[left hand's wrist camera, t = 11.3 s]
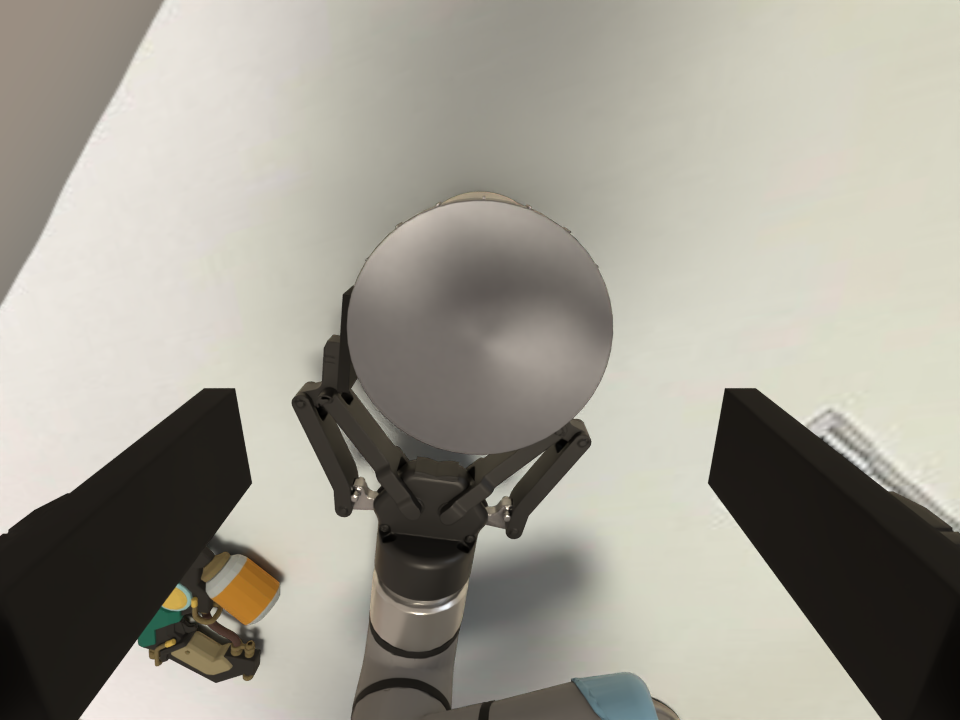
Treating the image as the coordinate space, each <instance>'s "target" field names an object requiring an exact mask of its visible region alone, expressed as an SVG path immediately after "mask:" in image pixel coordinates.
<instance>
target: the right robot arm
mask: <svg viewBox="0 0 960 720" xmlns="http://www.w3.org/2000/svg"><path fill="white" fill-rule="evenodd" d="M353 288H354V285H353V286H352V287H351V288H350V289H349V290H348V291H346V292H345V293H344V294H343V301H342V317H341V332H340V336H339V335H332V337H331V338H330V339H329V340H328V341H327V343H326V345H325V347H324V355H323V356H324V357H323V374H322V381H321V382H317V383H315V382H312V381H311V382H307V383H306V384H305V385H304V386H303V387H302V388H301V389H300V391H299V392H298V393H297V394H296V396H295V397H294V398H293V399H292V406H293V408H294V410H295V412H296V415H297V417H298V419H299V421H300V423H301V425H302V427H303V429H304V431H305V433H306V435H307V437H308V439H309V441H310V443H311V445H312V447H313V449H314V451H315V453H316V455H317V457H318V459H319V461H320V463H321V465H322V467H323V469H324V471H325V474H326V476H327V478H328V480H329V482H330V484H331V486H332V488H333V490H334V502H335V511H336V513H337V515H339V516H341V517H348V516H349V515H350V514H351V513H352V510H353V509H360V510H374V512H375V514H376V515H377V518H378V532H377V542H376V552H375V569H374V572H373V580H372V591H371V602H370V612H369V626H368V633H367V641H366V648H365V654H364V660H363V665H362V669H361V673H360V678H359V682H358V686H357V690H356V694H355V698H354V703H353V707H352V714H351V720H680V719H679V718H678V716H677V715H676V714H675V713H674V712H673V711H672V710H671V709H669V708H668V707H667V706H665V705H663V704H662V703H660V702H658V701H656V700H653V699H652V698H651V695H650V692H649V690H648V688H647V686H646V684H645V683H644V681H643V680H642V679H641V678H640V677H638V676H637V675H635V674H633V673H628V672H622V673H615V674H608V675H600V676H593V677H586V678H573V679H571V682H568V683H564V684H561V685H557V686H553V687H549V688H545V689H541V690H537V691H533V692H529V693H525V694H521V695H517V696H514V697H510V698H506V699H502V700H498V701H495V700H494V701H489V702H483V703H479V704H474V705H470V706H466V707H461V708H457V709H453V710H451V703H452V684H453V670H454V661H455V655H456V648H457V641H458V634H459V630H460V626H461V621H462V618H463V612H464V607H465V601H466V595H467V590H468V584H469V577H470V573H471V569H472V563H473V558H474V552H475V547H476V542H477V536H478V533H479V532H480V530H481V529H482V528H483V527H484V526H485V525H490V526H494V527H498V528H503V529H506V535H507V536H508V537H509V538H511V539H517V538H519V537H520V536H521V535H522V533H523V530H524V527H525V524H526V522H527V519H528V516H529V515H530V514H531V513H532V511H533V510H534V509H535V508H536V507H537V506H538V505H539V503H540V502H541V501H542V500H543V499H544V498H545V497H546V496H547V494H548V493H549V492H550V491H551V490H552V489H553V488H554V487H555V485H556V484H557V483H558V482H559V481H560V480H561V479H562V478H563V476H564V475H565V474H566V473H567V472H568V471H569V470H570V469H571V467H572V466H573V465H574V464H575V463H576V462H577V461H578V460H579V458H580V457H581V456H582V455H583V454H584V453H585V452H586V451H587V449H588V448H589V447H590V445H591V439H590V437H589V434H588V432H587V429H586V427H585V425H584V422H583V421H582V420H580V419H572V420H571V421H569V422H568V423H567V424H566V425H565V426H563V427H562V428H561V429H560V430H558V431H556V432H555V433H553V434H552V435H550V436H548V437H547V438H545V439H543V440H541V441H539V442H537V443H534V444H532V445H530V446H527V447H524V448H521V449H518V450H514V451H509V452H504V453H498V454H489V455H487V456H486V457H485V458H479V459H477V460H476V461H475V462H473V463H472V464H471V465H470V466H468V467H467V468H466V469H465V468H464V467H462V466H460V465H459V462H455V461H441V462H438V461H435V460H432V459H430V458H425V457H417V460H412V461H409V460H408V458H407V457H406V456H405V454H404V453H403V452H402V450H401V449H400V448H399V447H398V446H394V445H393V443H392V442H391V441H390V439H389V438H388V437H387V435H386V434H385V433H384V431H383V430H382V429H381V427H380V426H379V425H378V423H377V422H376V421H375V420H374V418H373V417H372V416H371V414H370V413H369V412H368V410H367V409H366V408H365V406H364V405H363V404H362V402H361V401H360V400H359V398H358V397H357V396H356V395H355V393H354V392H353V391H352V389H351V388H352V386H353V384H354V383H355V381H356V379H357V378H358V377H357V375H356V372H355V369H354V366H353V363H352V360H351V356H350V351H349V346H348V337H347V318H348V308H349V303H350V299H351V294H352V291H353ZM337 424H338V425H339V426H340V428H341V429H342V430H343V431H344V433H345V434H346V435H347V436H348V438H349V439H350V440H351V441H352V443H353V444H354V445H355V447H356V448H357V449H358V450H359V452H360V453H361V454H362V455H363V457H364V458H365V459H366V460H367V462H368V463H369V464H370V466H371V467H372V468H373V469H374V471H375V473H376V477H377V480H378V481H379V483H380V484H381V485H382V486H381V487H380V488H379V489H378V491H377V492H376V491H372V490H370V489H369V488H368V486H367V483H366V482H365V479H364V478H363V477H358V470H357V467H356V464H355V462H354V460H353V457H352V455H351V453H350V451H349V449H348V447H347V444H346V442H345V440H344V438H343V436H342V434H341V432H340V429H339V427H338V425H337ZM544 451H545V452H544ZM543 452H544V453H543ZM541 453H543V454H542V455H541V456H540V457H539V459H538V460H537V461H536V462H535V463H534V465H533V466H532V467H531V468H530V469H529V470H528V472H527V473H526V474H525V475H524V476H523V477H522V479H521V480H520V481H519V482H518V483H517V484H516V486H515V487H514V489H513V490H512V492H511V494H510V496H509V497H508V496H504V497H503V498H502V500H500V502H499V503H498V504H497V505H496V506H493V507H489V506H488V504H487V502H486V500H485V499H486V498H487V497H488V496H490V495H491V494H492V492H493V490H494V488H495V487H496V486H498V485H499V484H500V483H502V482H503V481H504V480H506V479H507V478H508V477H510V476H511V475H513V474H514V473H515V472H517V471H518V470H519V469H521V468H522V467H523V466H525V465H526V464H528V463H529V462H530V461H532V460H533V459H534V458H536V457H537V456H538V455H540V454H541Z"/></svg>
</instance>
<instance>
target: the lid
mask: <svg viewBox="0 0 960 720" xmlns="http://www.w3.org/2000/svg"><path fill="white" fill-rule="evenodd" d="M531 208H532V207H531V206H529V205H527V204H526V206H524V205H521V204H517V203H514V202H511V201H506V200H500V199H494V198H486V197H485V196H483V197H482V198H467V199H458V200H454V201H450V202H446V203H441V202H438V203H437V204H436V206H434V207H432V208H429V209H427V210H424V211H422V212H421V213H419V214H417V215H416V216H414V217H412V218H410V219H409V220H407V221H406V222H404V223H402V222H401V223H399V224H398V225H396V226H395V228H396V229H395V230H394V231H392V232H391V233H390V234H389V235H388V236H387V237H386V238H385V239H384V240H383V241H382V242H381V243H380V244H379V245H378V246H377V247H376V248H375V250H374V251H373V252H372V254H371V255H370V256H369V257H368V258H367V259H366V260H365V261H366V262H365V264H364V266H363V268H362V270H361V272H360V274H359V275H358V277H357V280H356V283H355V286H354V288H353V291H352V294H351V299H350V303H349V308H348V318H347V337H348V346H349V351H350V356H351V360H352V363H353V366H354V369H355V372H356V375H357V377H358V379H359V381H360V383H361V385H362V387H363V389H364V391H365V392H366V394H367V395H368V396H369V398H370V399H371V401H372V402H373V404H374V405H375V406H376V407H377V408H378V409H379V411H380V412H381V413H382V414H383V415H384V416H385V417H386V418H387V419H388V420H390V421H391V422H392V423H393V424H394V425H395V426H396V427H398V428H399V429H401V430H402V431H404V432H405V433H407V434H408V435H410V436H412V437H413V438H415V439H417V440H419V441H421V442H423V443H426V444H428V445H431V446H433V447H436V448H439V449H443V450H447V451H451V452H455V453H463V454H475V455H487V454H498V453H504V452H509V451H514V450H518V449H521V448H524V447H527V446H530V445H532V444H534V443H537V442H539V441H541V440H543V439H545V438H547V437H548V436H550V435H552V434H553V433H555V432H556V431H558V430H560V429H561V428H562V427H563V426H565V425H566V424H567V423H568V422H569V421H571V420H572V419H573V418H574V417H575V416H576V415H577V414H578V413H579V412H580V411H581V410H582V409H583V407H584V406H585V405H586V403H587V402H588V401H589V399H590V398H591V397H592V395H593V394H594V392H595V390H596V388H597V387H598V385H599V383H600V381H601V379H602V377H603V374H604V372H605V369H606V367H607V363H608V360H609V356H610V352H611V346H612V338H613V316H612V309H611V303H610V298H609V295H608V292H607V288H606V285H605V282H604V280H603V278H602V276H601V274H600V272H599V269H598V265H596V264H595V263H594V261H593V260H592V258H591V257H590V255H589V253H588V252H587V251H586V250H585V249H584V248H583V246H582V245H581V244H580V243H579V242H578V241H577V239H575V238H574V237H573V236H572V235H571V234H570V233H571V231H570V230H568V229H567V228H565V227H561V226H560V225H558V224H557V223H555V222H554V221H552V220H551V219H549V218H548V217H546V216H545V215H543V214H542V213H539V212H537V211H535V210H533V209H531Z"/></svg>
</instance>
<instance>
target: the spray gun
mask: <svg viewBox="0 0 960 720" xmlns="http://www.w3.org/2000/svg"><path fill="white" fill-rule="evenodd" d="M203 567H204V568H203ZM279 596H280V583H279V582H278V581H277V580H276V579H275V578H273V577H272V576H271V575H269V574H268V573H267V572H266V571H264V570H263V569H262V568H260V567H259V566H258V565H257V564H255V563H254V562H253V561H252V560H250V559H249V558H248V557H246V556H243V555H240V554H237V555H231V556H230V554H229V553H228V552H223V553H221V554H219V555H214V553H213V552H212V551H211V550H210V549H209V548H208V547H207V546H206V547H205V548H204V549H203V551H202V552H201V553H200V555H199V556H198V557H197V559H196V560H195V562H194V563H193V564H192V566H191V567H190V568H189V570H188V571H187V572H186V574H185V575H184V576H183V578H182V579H181V581H180V582H179V583H178V585H177V586H176V587H175V589H174V590H173V591H172V593H171V594H170V596H169V597H168V598H167V600H166V601H165V602H164V604H163V605H162V606H161V608H160V609H159V610H158V612H157V613H156V615H155V616H154V617H153V619H152V620H151V621H150V623H149V624H148V625H147V627H146V628H145V630H144V631H143V632H142V634H141V635H140V636H139V638H138V644H139V645H140V646H141V647H143V648H147V649H149V657H150V659H155V666H159V665H161V664H162V662H165V661H167V660H168V659H171V660H173V661H175V662H177V663H179V664H181V665H182V666H184V667H186V668H188V669H190V670H192V671H194V672H196V673H198V674H200V675H202V676H203V677H205V678H207V679H209V680H211V681H213V682H215V683H217V682H221V681H224V680H227V679H230V678H233V677H237V676H240V675H243V679H244V680H245V681H249V680H251V679H252V678H253V676H254V675H255V673H256V671H257V669H258V667H259V665H260V653H261V650H260V649H255V643H254V641H253V640H250V641H248V642H247V643H246V644H243V643H242V640H241V639H240V638H239V636H238V635H237V634H236V633H234V632H233V631H231V630H229V629H227V628H225V627H224V626H222V625H221V624H219V623H218V622H217V621H216V620H217V619H218V617H219V616H220V615H221V612H222V610H223V608H224V609H225V610H226V611H227V612H229V613H230V614H231V615H232V616H234V617H235V618H236V619H237V620H239V621H240V622H241V623H242V624H244V625H247V626H248V625H251V624H254V623H256V622H259V621H260V620H261V619H262V618H264V617H265V615H266V614H267V613H268V612H269V611H270V610H271V608H272V607H273V606H274V605H275V603H276V602H277V600H278V598H279ZM213 607H217V608H218V609H217V611H216V613H215V614H214V616H213V617H212V616H211V614H210V611H211V609H212V608H213ZM198 612H201V613H202V617H201V616H199V615H198ZM190 613H192V616H193V618H194V620H195V621H197V622H198V623H200V624H204V625H208V626H209V627H210V628H211V629H212V630H214V631H215V632H217V633H218V634H220V635H222V636H223V637H225V638H227V639H229V640H230V641H231V642H232V643H227V644H225V645H221V644H219V643H217V642H216V641H214V640H213V639H211V638H209V637H208V636H206V635H205V634H203V633H201V632H199V631H197V627H198V625H197V624H190V623H188V622H187V621H186V620H185V618H184V617H183V616H184V615H186V614H190Z"/></svg>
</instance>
